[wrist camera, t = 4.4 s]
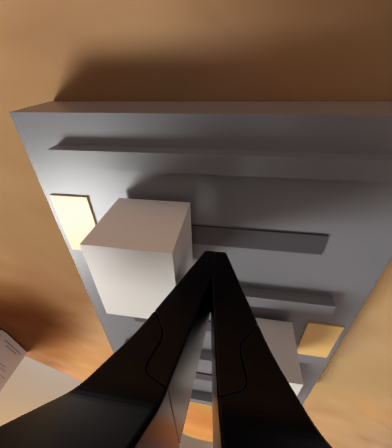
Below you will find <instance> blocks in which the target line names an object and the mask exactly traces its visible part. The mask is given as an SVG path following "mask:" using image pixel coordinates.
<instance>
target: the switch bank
mask: <svg viewBox="0 0 392 448" xmlns="http://www.w3.org/2000/svg"><path fill="white" fill-rule="evenodd" d="M9 113H10V115H11V117H12V120H13V122H14V124H15V127H16V129H17V131H18V134H19V136H20V138H21V140H22V143H23V145H24V147H25V150H26V152H27V154H28V157H29V159H30V161H31V163H32V166H33V168H34V170H35V173H36V175H37V177H38V180H39V182H40V184H41V186H42V189H43V191H44V193H45V196H46V198H47V200H48V203H49V205H50V207H51V209H52V212H53V214H54V216H55V219H56V221H57V223H58V226H59V228H60V230H61V232H62V235H63V237H64V239H65V242H66V244H67V246H68V249H69V251H70V253H71V255H72V258H73V260H74V262H75V265H76V267H77V269H78V272H79V274H80V276H81V278H82V281H83V283H84V285H85V288H86V290H87V292H88V295H89V297H90V299H91V301H92V304H93V306H94V308H95V311H96V313H97V315H98V318H99V320H100V322H101V324H102V327H103V329H104V331H105V334H106V336H107V338H108V341H109V343H110V345H111V347H112V350H113V352H114V353H115V352H116V351H117V350H118V349H119V348H120V347H121V346H122V345H123V344H124V343H125V342H126V341H127V340H128V339H129V338H130V337H131V336H132V335H133V334H134V333H135V332H136V331H137V330H138V329H139V328H140V327H141V326H142V325H143V324H144V322H145V321H146V320H147V319H145V318H137V317H130V316H122V315H115V314H108V313H106V310H105V308H104V305H103V303H102V300H101V298H100V295H99V293H98V290H97V288H96V285H95V283H94V280H93V278H92V275H91V273H90V270H89V267H88V265H87V262H86V260H85V257H84V255H83V252H82V250H81V247H80V245H79V244H80V243H81V242H82V241H83V240H84V239H85V237H86V236H87V235H88V234H89V233H90V231H91V230H92V229H93V228H94V227H95V226H96V224H97V223H98V222H99V221H100V220H101V219H102V217H103V216H104V215H105V214H106V213H107V212H108V210H109V209H110V208H111V207H112V206H113V205H114V203H115V202H116V201H117V200H118V199H119V198H127V199H144V200H160V201H176V202H190V207H191V230H192V253H193V265H194V263H195V262H196V261H197V260H198V259H199V258H200V256H201V255H202V254H203V253H204V252H205V251H215V252H225V253H226V254H227V256H228V258H229V260H230V262H231V265H232V267H233V269H234V271H235V274H236V276H237V278H238V280H239V283H240V285H241V287H242V289H243V292H244V294H245V296H246V298H247V301H248V303H249V305H250V307H251V310H252V312H253V314H254V316H255V318H262V319H270V320H278V321H286V322H292V324H293V330H294V335H295V341H296V347H297V352H298V358H299V363H300V369H301V375H302V380H303V386H302V388H301V390H300V392H299V394H298V395H297V397H298V399H299V401H300V402H301V404H302V405H303V403H304V402H305V400H306V398H307V397H308V395H309V393H310V392H311V390H312V388H313V387H314V385H315V383H316V382H317V380H318V378H319V377H320V375H321V373H322V372H323V370H324V368H325V367H326V365H327V364H328V362H329V360H330V359H331V357H332V355H333V354H334V352H335V350H336V349H337V347H338V345H339V344H340V342H341V340H342V339H343V337H344V335H345V334H346V332H347V330H348V329H349V327H350V326H351V324H352V322H353V321H354V319H355V317H356V316H357V314H358V312H359V311H360V309H361V307H362V306H363V304H364V302H365V301H366V299H367V297H368V296H369V294H370V292H371V291H372V289H373V288H374V286H375V284H376V283H377V281H378V279H379V278H380V276H381V274H382V273H383V271H384V269H385V268H386V266H387V264H388V263H389V261H390V259H391V258H392V101H51V102H47V103H43V104H39V105H35V106H31V107H28V108H24V109H20V110H16V111H12V112H9ZM190 402H195V403H201V404H206V405H212V362H211V312H210V317H209V321H208V325H207V329H206V334H205V338H204V342H203V346H202V351H201V355H200V359H199V363H198V368H197V372H196V376H195V380H194V385H193V389H192V393H191V397H190Z"/></svg>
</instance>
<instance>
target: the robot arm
mask: <svg viewBox="0 0 392 448" xmlns="http://www.w3.org/2000/svg"><path fill="white" fill-rule="evenodd" d="M210 312H211V362H212V414H213V448H332V447H331V446H330V444H329V443H328V442H327V441H326V440H325V439H324V437H323V436H322V435H321V433H320V432H319V431H318V429H317V428H316V426H315V425H314V424H313V422H312V421H311V419H310V417H309V416H308V414H307V412H306V411H305V409H304V407H303V406H302V404H301V402H300V401H299V399H298V397H297V396H296V394H295V392H294V391H293V389H292V387H291V386H290V384H289V382H288V381H287V379H286V377H285V375H284V374H283V372H282V370H281V369H280V367H279V365H278V363H277V362H276V360H275V358H274V356H273V354H272V353H271V351H270V349H269V347H268V345H267V342H266V340H265V338H264V336H263V334H262V332H261V330H260V327H259V326H258V323H257V321H256V319H255V316H254V314H253V312H252V310H251V307H250V305H249V303H248V301H247V298H246V296H245V294H244V292H243V289H242V287H241V285H240V283H239V280H238V278H237V276H236V274H235V271H234V269H233V267H232V265H231V262H230V260H229V258H228V256H227V254H226V253H225V252H215V251H205V252H204V253H203V254H202V255H201V256H200V258H199V259H198V260H197V261H196V262H195V263H194V265H193V266H192V267H191V268H190V269H189V271H188V272H187V273H186V274H185V275H184V276H183V278H182V279H181V280H180V281H179V282H178V284H177V285H176V286H175V287H174V288H173V290H172V291H171V292H170V293H169V294H168V295H167V297H166V298H165V299H164V300H163V301H162V303H161V304H160V305H159V306H158V307H157V308H156V310H155V312H153V313H152V314H151V315H150V317H149V318H148V319H147V320H146V321H145V322H144V324H143V325H142V326H141V327H140V328H139V329H138V330H137V331H136V332H135V333H134V334H133V335H132V336H131V337H130V338H129V339H128V340H127V341H126V342H125V343H124V344H123V345H122V346H121V347H120V348H119V349H118V350H117V351H116V352H115V353H114V354H113V355H112V356H111V357H110V358H109V359H108V360H106V361H105V362H104V363H103V364H102V365H101V366H100V367H99V368H98V369H97V370H96V371H95V372H94V373H93V374H92V375H91V376H90V377H88V378H87V379H86V380H85V381H84V382H83V383H81V384H80V385H79V386H77V387H76V388H75V389H73V390H72V391H70V392H68V393H66V394H65V395H63V396H61V397H59V398H57V399H55V400H53V401H51V402H49V403H46V404H44V405H42V406H41V407H38V408H37V409H34V410H32V411H30V412H28V413H27V414H24V415H22V416H20V417H18V418H16V419H14V420H12V421H10V422H8V423H6V424H4V425H2V426H0V448H179V443H180V440H181V435H182V432H183V427H184V423H185V419H186V414H187V410H188V406H189V402H190V397H191V393H192V389H193V385H194V380H195V376H196V372H197V368H198V363H199V359H200V355H201V351H202V346H203V342H204V338H205V334H206V329H207V325H208V321H209V317H210Z"/></svg>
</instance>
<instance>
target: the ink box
mask: <svg viewBox="0 0 392 448" xmlns="http://www.w3.org/2000/svg"><path fill="white" fill-rule="evenodd" d="M26 354H27V352H26V351H25V350H24V349H23V348H22V347H21V346H20V345H19V344H18V343H17V342H16V341H15V340H13V339H12V338H11V337H10V336H9V335H8V334H7V333H6V332H4V331H3V330H0V391H1V389H2V388H3V386H4V385H5V383H6V382H7V381H8V379H9V378H10V376H11V375H12V374H13V372H14V370H15V369H16V367H17V366H18V365H19V363H20V362H21V361H22V359H23V358H24V356H25V355H26Z"/></svg>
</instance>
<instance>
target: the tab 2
mask: <svg viewBox="0 0 392 448" xmlns="http://www.w3.org/2000/svg"><path fill="white" fill-rule="evenodd" d="M255 319H256V321H257V323H258V326H259V327H260V330H261V332H262V334H263V336H264V338H265V340H266V342H267V345H268V347H269V349H270V351H271V353H272V354H273V356H274V358H275V360H276V362H277V363H278V365H279V367H280V369H281V370H282V372H283V374H284V375H285V377H286V379H287V381H288V382H289V384H290V386H291V387H292V389H293V391H294V392H295V394H296V396H297V395H298V394H299V392H300V390H301V388H302V386H303V380H302V375H301V369H300V363H299V358H298V352H297V347H296V341H295V335H294V330H293V324H292V322H286V321H278V320H270V319H262V318H255Z"/></svg>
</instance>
